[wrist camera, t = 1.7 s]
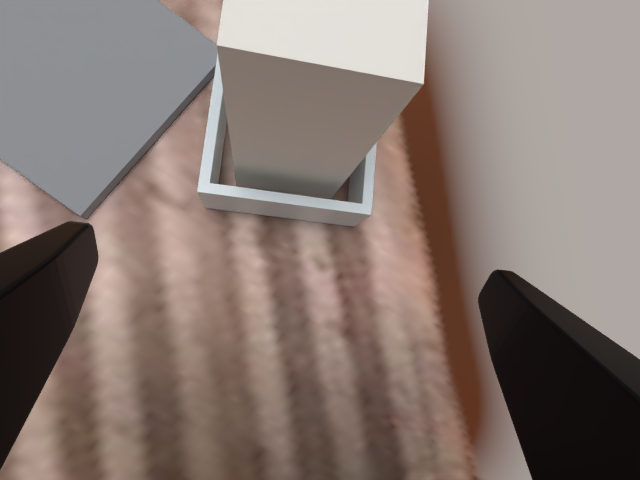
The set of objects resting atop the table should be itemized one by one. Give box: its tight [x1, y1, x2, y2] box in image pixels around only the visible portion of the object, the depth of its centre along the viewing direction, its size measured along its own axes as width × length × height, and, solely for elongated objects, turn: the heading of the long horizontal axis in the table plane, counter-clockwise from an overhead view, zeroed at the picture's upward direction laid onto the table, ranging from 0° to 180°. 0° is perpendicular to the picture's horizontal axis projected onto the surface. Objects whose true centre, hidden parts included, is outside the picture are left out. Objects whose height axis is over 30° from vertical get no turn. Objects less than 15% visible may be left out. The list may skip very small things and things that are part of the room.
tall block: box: [217, 0, 429, 199], centre depth 17 cm, size 6×6×13 cm
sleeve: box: [197, 54, 377, 227], centre depth 22 cm, size 8×8×4 cm
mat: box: [0, 0, 218, 219], centre depth 22 cm, size 12×12×1 cm
